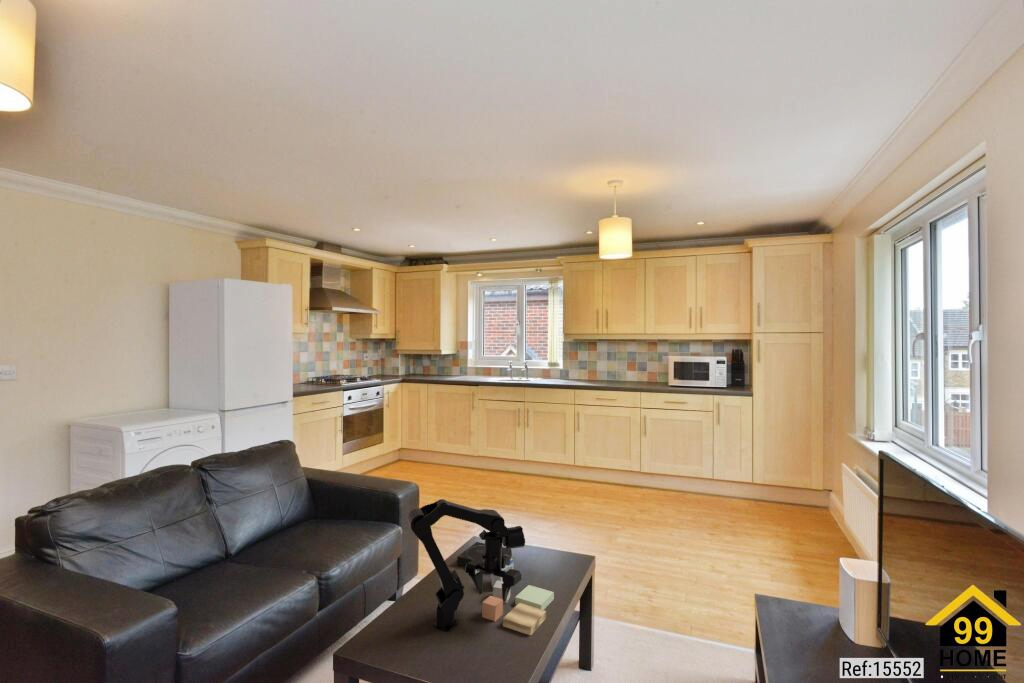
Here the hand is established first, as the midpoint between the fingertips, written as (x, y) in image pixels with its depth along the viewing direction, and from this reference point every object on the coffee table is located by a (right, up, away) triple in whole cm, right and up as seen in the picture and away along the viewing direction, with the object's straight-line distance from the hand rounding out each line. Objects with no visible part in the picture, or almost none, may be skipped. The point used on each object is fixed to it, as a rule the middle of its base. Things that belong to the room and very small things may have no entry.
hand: (492, 597), depth 166 cm
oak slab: (+11, -6, -4) cm, 13 cm away
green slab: (+14, -6, +9) cm, 18 cm away
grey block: (+3, -6, +11) cm, 13 cm away
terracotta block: (0, -6, 0) cm, 6 cm away
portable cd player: (-5, -6, +41) cm, 41 cm away
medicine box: (+3, -6, +21) cm, 22 cm away
